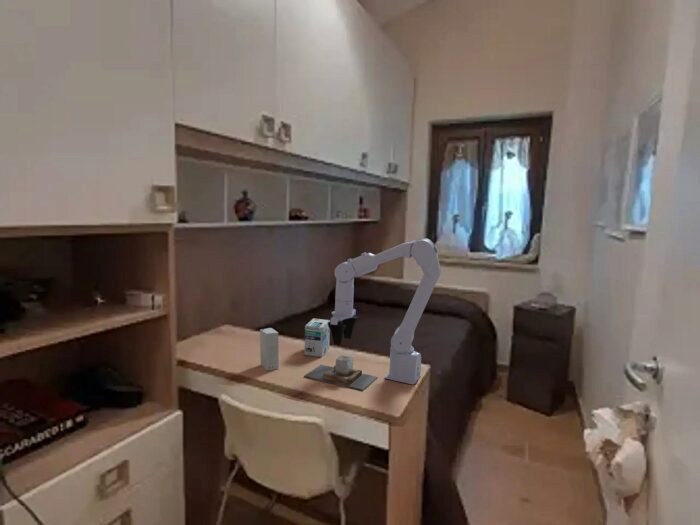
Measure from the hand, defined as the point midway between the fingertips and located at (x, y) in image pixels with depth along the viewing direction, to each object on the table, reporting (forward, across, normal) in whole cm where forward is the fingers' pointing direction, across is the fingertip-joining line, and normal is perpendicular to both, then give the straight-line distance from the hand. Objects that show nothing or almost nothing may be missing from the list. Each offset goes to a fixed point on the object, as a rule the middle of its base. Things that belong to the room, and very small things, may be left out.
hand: (342, 341), depth 145 cm
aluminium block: (+9, +6, +4) cm, 12 cm away
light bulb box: (+10, -11, -15) cm, 21 cm away
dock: (+10, +6, +3) cm, 12 cm away
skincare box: (+10, +10, -21) cm, 25 cm away
